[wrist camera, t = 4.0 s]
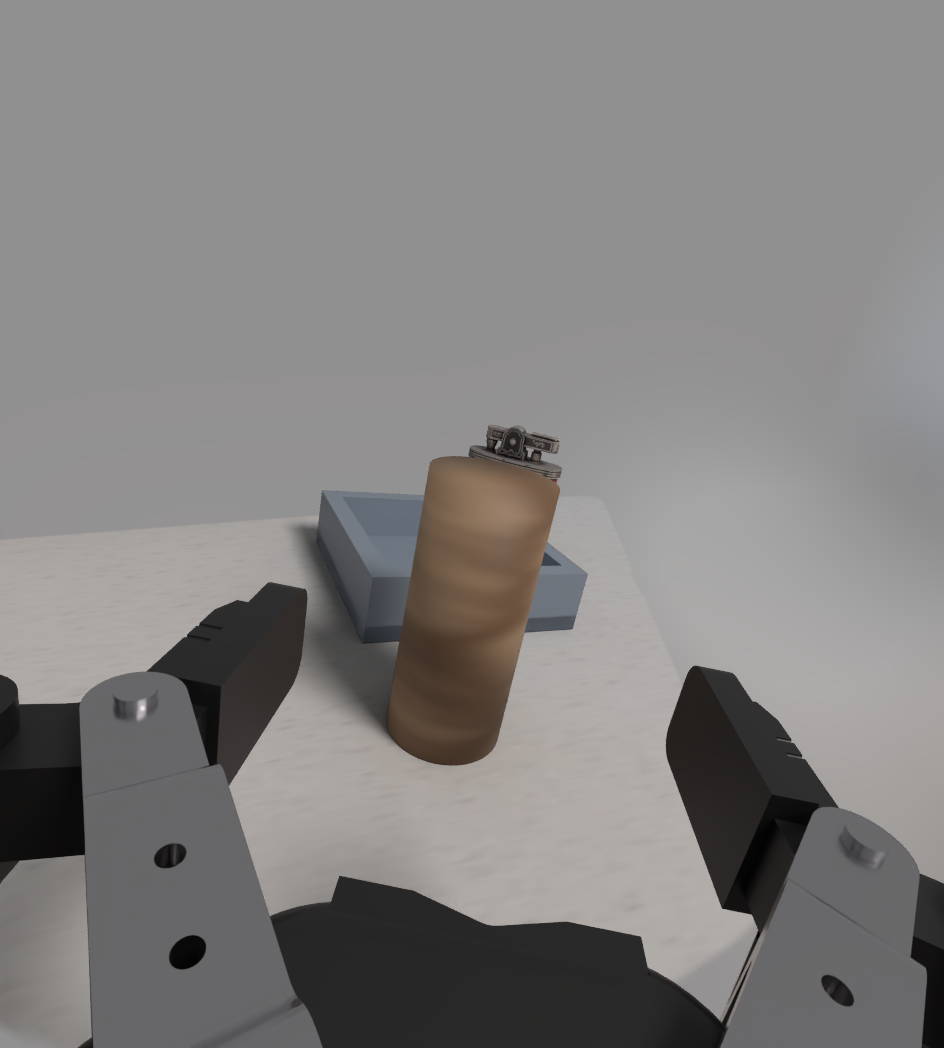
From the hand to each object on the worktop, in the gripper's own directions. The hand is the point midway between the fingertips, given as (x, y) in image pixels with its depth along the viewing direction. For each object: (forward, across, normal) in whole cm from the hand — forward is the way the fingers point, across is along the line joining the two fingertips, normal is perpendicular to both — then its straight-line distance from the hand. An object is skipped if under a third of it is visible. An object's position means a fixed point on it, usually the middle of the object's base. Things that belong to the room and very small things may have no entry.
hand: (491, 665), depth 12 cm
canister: (+12, -1, -11) cm, 16 cm away
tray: (+27, -3, -10) cm, 29 cm away
